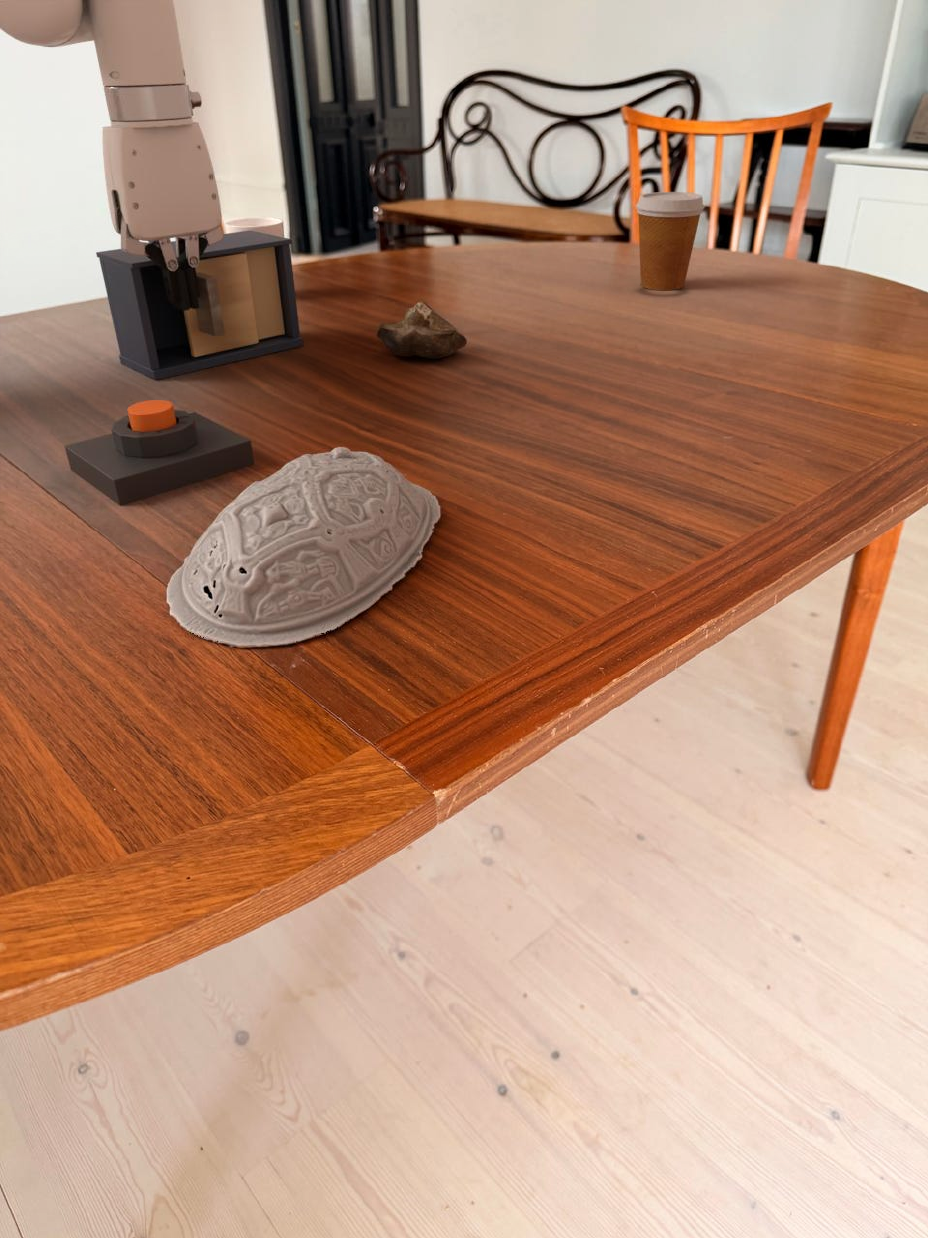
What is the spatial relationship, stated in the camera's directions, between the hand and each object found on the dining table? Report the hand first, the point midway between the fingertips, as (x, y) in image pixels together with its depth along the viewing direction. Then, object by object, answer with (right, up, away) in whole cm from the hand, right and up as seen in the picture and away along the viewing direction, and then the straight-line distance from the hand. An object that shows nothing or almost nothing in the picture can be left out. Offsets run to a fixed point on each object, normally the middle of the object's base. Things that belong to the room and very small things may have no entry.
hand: (185, 306), depth 95 cm
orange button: (+4, -17, -20) cm, 27 cm away
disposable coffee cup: (+59, +16, +37) cm, 71 cm away
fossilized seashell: (+25, -3, +9) cm, 26 cm away
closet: (0, -2, +11) cm, 11 cm away
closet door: (+3, -3, +6) cm, 8 cm away
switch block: (+4, -20, -18) cm, 27 cm away
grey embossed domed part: (+19, -28, -32) cm, 47 cm away
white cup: (0, +14, +36) cm, 39 cm away
